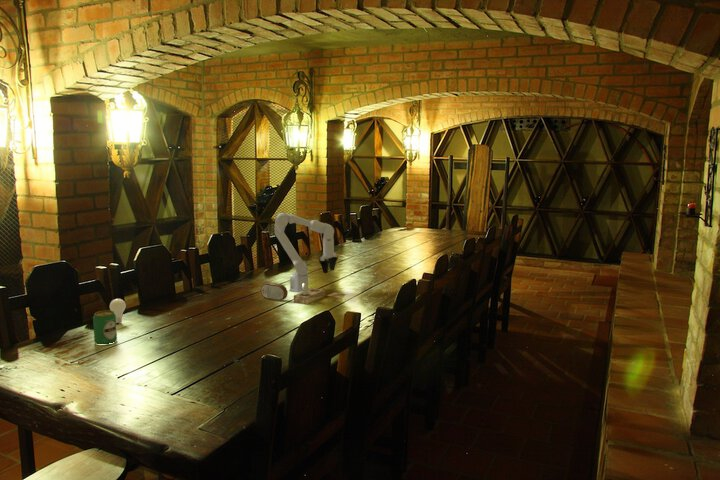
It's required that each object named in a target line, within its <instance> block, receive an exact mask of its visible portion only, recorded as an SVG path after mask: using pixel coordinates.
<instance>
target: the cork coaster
mask: <svg viewBox="0 0 720 480" xmlns="http://www.w3.org/2000/svg"><path fill="white" fill-rule="evenodd" d="M347 295H348V293H343V292H342V293H341V292H331V293H329V294H328V295H326V296H327V297H332V298H338V299H341V298H343V297H344V296H347Z"/></svg>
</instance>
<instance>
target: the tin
mask: <svg viewBox="0 0 720 480" xmlns="http://www.w3.org/2000/svg"><path fill="white" fill-rule="evenodd" d="M260 294H261V296H262V297H263V298H264V299H267V300H273V301H283V300H285V299H286V298H287V297H288V290H287V287H286V286H285V285H284V284H282V283H277V282H271V281H270V282H269V281H268V282H265V283H263V284H262V285H261V286H260Z"/></svg>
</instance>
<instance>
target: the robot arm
mask: <svg viewBox="0 0 720 480" xmlns="http://www.w3.org/2000/svg"><path fill="white" fill-rule="evenodd" d="M274 221H275V222H274V235H275V236H276V237H275V238H277V240H278V241H279V243H280V245H281V246H282V248H283V250H284V251H285V252H286V254H287V255H288V257H289V259H290V260H291V262H292V264H293V266H294V268H295V273H292V274H291V275H290V278H289V289H288V290H289V291H290V292H296V293H297V292H298V293H301V292H302V283H308V284H309V273H308V265H307V263H306V261H304V260H303V259H302V258H301V257H300V255H299V254H298V252H297V250H296V249H295V248H294V245H293V244H292V242H291V241H290V239H289V238H288V236H287V235H286V233H285V230H286V227H287V225H288V223H289V225H291V224H298V225H302V226H306V227H308V229H309V230H310V231H313V232H316V233H319V234H323V238H322V243H323V244H322V246H323V247H322V249H323V253H322V256H320V257H319V258H320V259H319V262H318V263H320V266H321V268H322V272H323V274H327V273H328V270H329V269H330V271H334V270H335V269H336V263H337V260H338V259H339V257H338V256H337V255H338V254H337V252H335V240H334V239H335V238H334V236H335V228H334V227H333V226H332V225H331V224H330V223H327V222H325V223H324V222H321V221H319V219H312V220H309V219H306V218H303V217H300V216H298V215H295V214H291V213H286V212H279V213H278V214H277V216H276V217H275V220H274ZM308 289H310V288H309V287H308Z"/></svg>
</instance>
